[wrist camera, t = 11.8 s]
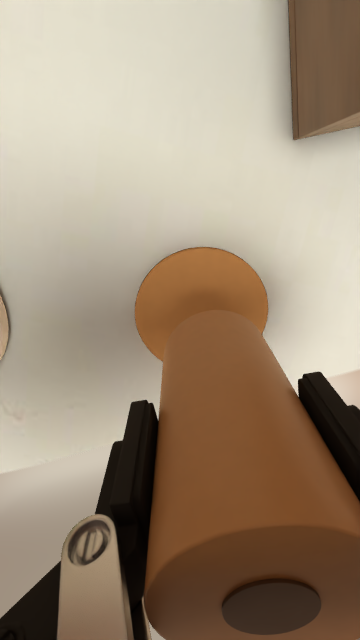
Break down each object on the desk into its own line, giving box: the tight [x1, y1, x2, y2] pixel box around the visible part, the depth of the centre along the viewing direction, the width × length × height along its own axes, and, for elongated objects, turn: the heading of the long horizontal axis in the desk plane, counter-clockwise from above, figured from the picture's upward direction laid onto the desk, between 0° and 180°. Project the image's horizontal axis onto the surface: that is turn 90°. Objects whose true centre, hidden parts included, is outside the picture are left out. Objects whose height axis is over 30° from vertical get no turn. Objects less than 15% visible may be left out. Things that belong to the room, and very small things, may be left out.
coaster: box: [135, 247, 268, 361], centre depth 20 cm, size 9×9×1 cm
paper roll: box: [144, 310, 360, 640], centre depth 11 cm, size 5×5×10 cm
